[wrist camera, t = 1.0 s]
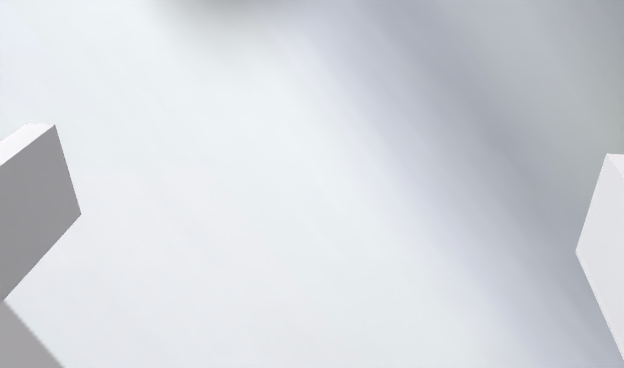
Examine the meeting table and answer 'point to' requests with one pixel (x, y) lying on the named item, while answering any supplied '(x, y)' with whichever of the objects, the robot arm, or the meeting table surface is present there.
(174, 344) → the meeting table surface
